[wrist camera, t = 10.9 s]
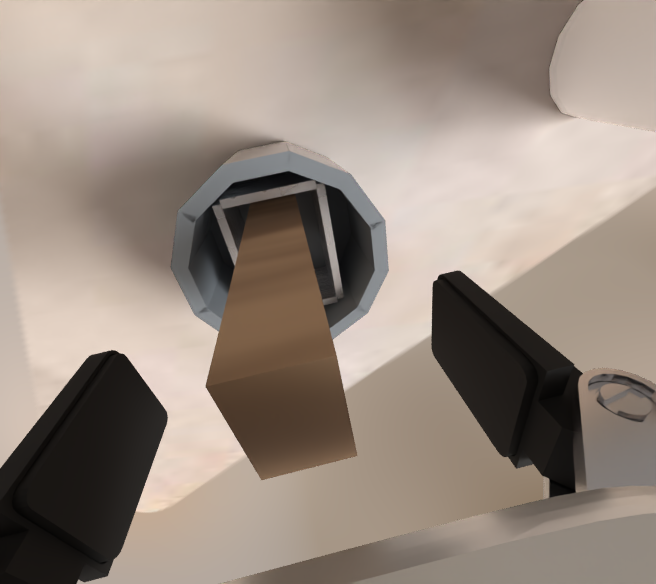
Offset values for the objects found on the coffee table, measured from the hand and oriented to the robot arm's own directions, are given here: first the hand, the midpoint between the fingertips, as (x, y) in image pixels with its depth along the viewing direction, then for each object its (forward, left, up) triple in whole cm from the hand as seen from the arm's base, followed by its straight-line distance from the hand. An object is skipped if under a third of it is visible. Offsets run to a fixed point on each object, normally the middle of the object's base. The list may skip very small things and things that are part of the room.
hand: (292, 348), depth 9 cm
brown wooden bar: (-1, 0, -11) cm, 11 cm away
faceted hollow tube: (0, 0, -12) cm, 12 cm away
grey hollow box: (0, 0, -12) cm, 12 cm away
